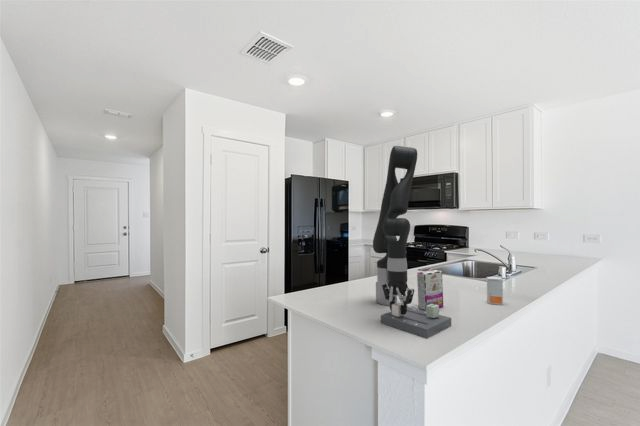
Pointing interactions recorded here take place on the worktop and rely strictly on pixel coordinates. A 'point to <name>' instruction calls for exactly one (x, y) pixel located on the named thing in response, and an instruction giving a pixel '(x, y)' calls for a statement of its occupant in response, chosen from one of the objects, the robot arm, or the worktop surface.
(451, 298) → the worktop surface
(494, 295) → the skincare box
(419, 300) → the candy bar box
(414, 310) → the fader board
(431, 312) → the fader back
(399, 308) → the block
